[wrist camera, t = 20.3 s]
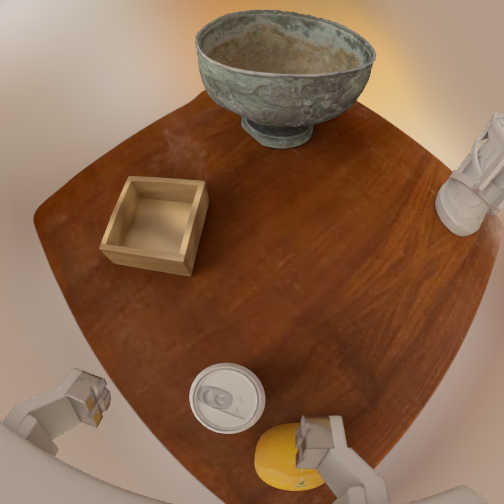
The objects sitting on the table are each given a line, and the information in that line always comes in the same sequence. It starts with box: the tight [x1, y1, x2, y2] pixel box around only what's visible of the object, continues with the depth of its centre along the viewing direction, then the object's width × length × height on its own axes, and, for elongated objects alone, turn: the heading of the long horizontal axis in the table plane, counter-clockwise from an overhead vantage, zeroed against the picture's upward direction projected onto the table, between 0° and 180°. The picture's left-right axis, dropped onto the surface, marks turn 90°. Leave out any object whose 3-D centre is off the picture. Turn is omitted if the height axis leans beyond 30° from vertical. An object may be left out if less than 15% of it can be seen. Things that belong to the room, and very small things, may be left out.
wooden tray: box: [99, 176, 209, 276], centre depth 36 cm, size 12×12×5 cm
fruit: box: [254, 423, 325, 491], centre depth 23 cm, size 9×8×8 cm
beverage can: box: [190, 363, 265, 434], centre depth 23 cm, size 5×5×15 cm
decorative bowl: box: [196, 10, 376, 148], centre depth 39 cm, size 26×26×20 cm
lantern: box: [435, 113, 504, 237], centre depth 29 cm, size 13×10×25 cm
